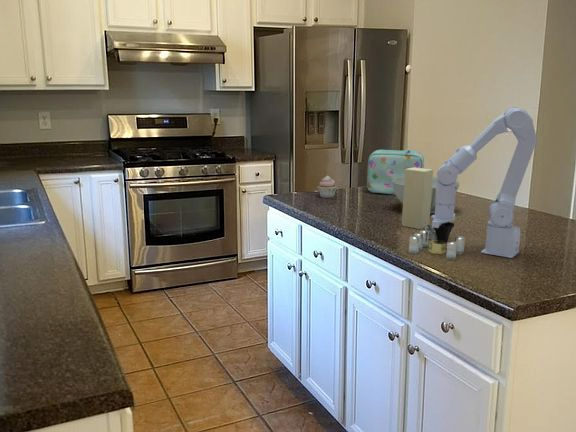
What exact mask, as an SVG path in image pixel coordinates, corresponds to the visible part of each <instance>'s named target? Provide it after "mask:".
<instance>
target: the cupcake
mask: <svg viewBox="0 0 576 432" xmlns="http://www.w3.org/2000/svg"><path fill="white" fill-rule="evenodd" d="M318 184H319V185H318V186H316V188H317V189H318V192H319V197H320V198H321V199H334V198H335V195H336V191H337V190H338V188H339V186H337V185H336V182H335V180H334V179H332V178H331V176H329V175H326V176H324V177H323V178H322V179H321V180H320V182H319V183H318Z"/></svg>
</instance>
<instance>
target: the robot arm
mask: <svg viewBox="0 0 576 432" xmlns="http://www.w3.org/2000/svg"><path fill="white" fill-rule="evenodd" d="M508 129H509V130H510V131H511V132H512V134H513V135H514V137H515V138H516V140H517V145H516V146H515V149H514V153H513V155H512V158H511V160H510V163H509V166H508V168H507V171H506V173H505V177H504V180H503V182H502V185H501V188H500V190H499V192H498V194H497V195H496V197H495V200H494V201H493V202H491V204H490V205H489V207H488V213H489V215H490V219H489V220H488V221H487V225H486V238H485V239H486V240H485V247H484V248H483V249H482V250H481V251H480V254H486V255H493V256H498V257H504V258H508V259H509V258H510V259H513V258H514V257H515V256H517V255H518V254H519V253H520V241H521V228H520V227H519V226H514V225H513V220H514V216H515V215H514V208H515V205H516V199H517V196H518V192H519V190H520V187H521V184H522V182H523V179H524V177H525V174H526V171H527V168H528V166H529V163H530V162H531V161H530V160H531V158H532V155H533V152H534V150H535V147H536V144H537V141H538V139H537V138H538V137H537V133H536V130H535V125H534V120H533V118H532V116H530V114H529V113H528V112H527V110H526V109H523V108H521V107H518V106H512V107H509V108H508V109H506V110H505V111H504V112H503V113H502V114H500V115H499V116H498V117H497V118H495V119H494V120H493V121H492V122H490V124H489V125H488V126H487V127H486V128H485V129H484V130H482V132H481V133H480V134H479V135H478V136H477V137H476V138H475V139H474V140H472V141H471V143H470V144H469V145H462V146H461V147H457V148H456V149H455V153H454V154H453V155H452V156H451V157H450V158H449V159H445V160H444V164H443V165H441V166H440V167H439V168H438V169H437V172H436V175H437V176H436V177H437V178H438V182H437V186H438V187H437V189H436V203H435V213H434V214H431V215H430V218H431V219H433V220H432V221H431V227H433V228H434V230H435V232H436V236H437V239H436V240H442V241H444V242H446V243H447V242H448V241H449V238H450V234H451V232H452V229H454V227H455V223H454V222H453V221H455V219H456V213H455V204H456V202H455V200H456V194H455V181H457V179H458V175H460V174H463V172H465V171H466V170H467V169H468V167H470V166H471V165H472V164H473V163H474V162H475V161H476V160H477V158H478V156H477V155H478V153H479V152H480V151H481V150H482V149H483V148H484V147H485V146H486V145H488V144H489V143H490V142H491V141H492V140H493V139H494V138H495V137H497V136H498V135H499V134H504V133H509V130H508Z"/></svg>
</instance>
